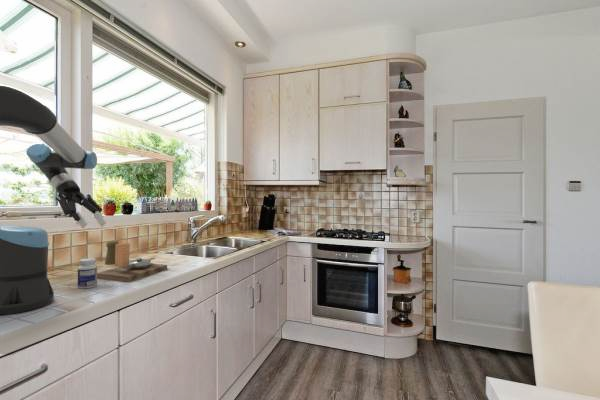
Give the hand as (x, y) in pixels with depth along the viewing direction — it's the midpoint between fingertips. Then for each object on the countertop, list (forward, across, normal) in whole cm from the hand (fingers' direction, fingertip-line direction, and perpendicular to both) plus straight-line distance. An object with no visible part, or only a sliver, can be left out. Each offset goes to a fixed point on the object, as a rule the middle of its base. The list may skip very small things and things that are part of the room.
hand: (94, 225), depth 122 cm
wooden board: (+25, -6, -4) cm, 26 cm away
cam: (+23, -8, -3) cm, 25 cm away
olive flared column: (+8, -18, -21) cm, 29 cm away
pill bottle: (+24, +14, -5) cm, 29 cm away
